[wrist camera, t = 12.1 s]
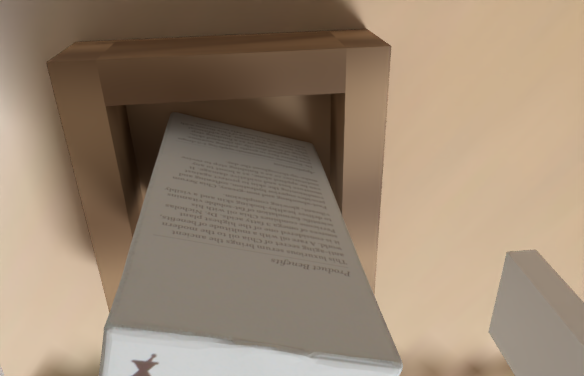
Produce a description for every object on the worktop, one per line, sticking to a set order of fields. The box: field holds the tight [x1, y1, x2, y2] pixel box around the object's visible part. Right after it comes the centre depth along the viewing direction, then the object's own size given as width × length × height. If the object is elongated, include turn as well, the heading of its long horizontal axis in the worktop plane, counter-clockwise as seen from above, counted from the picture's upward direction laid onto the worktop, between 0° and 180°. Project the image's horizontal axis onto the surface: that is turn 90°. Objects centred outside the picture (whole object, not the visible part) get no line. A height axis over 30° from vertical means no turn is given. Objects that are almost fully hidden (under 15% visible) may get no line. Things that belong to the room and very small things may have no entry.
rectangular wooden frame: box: [46, 29, 391, 313], centre depth 20 cm, size 11×11×3 cm
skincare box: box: [99, 112, 403, 376], centre depth 15 cm, size 6×4×12 cm
